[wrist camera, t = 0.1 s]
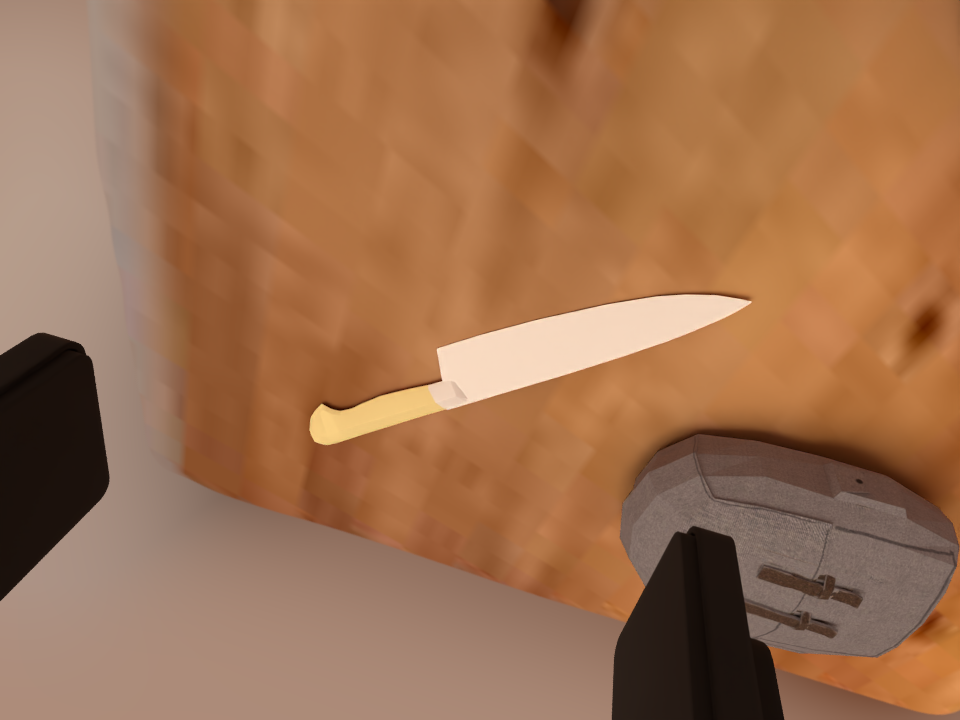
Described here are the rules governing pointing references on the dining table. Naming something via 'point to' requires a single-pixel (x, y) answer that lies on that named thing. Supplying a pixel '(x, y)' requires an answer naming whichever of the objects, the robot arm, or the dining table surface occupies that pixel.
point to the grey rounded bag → (800, 541)
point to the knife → (529, 358)
